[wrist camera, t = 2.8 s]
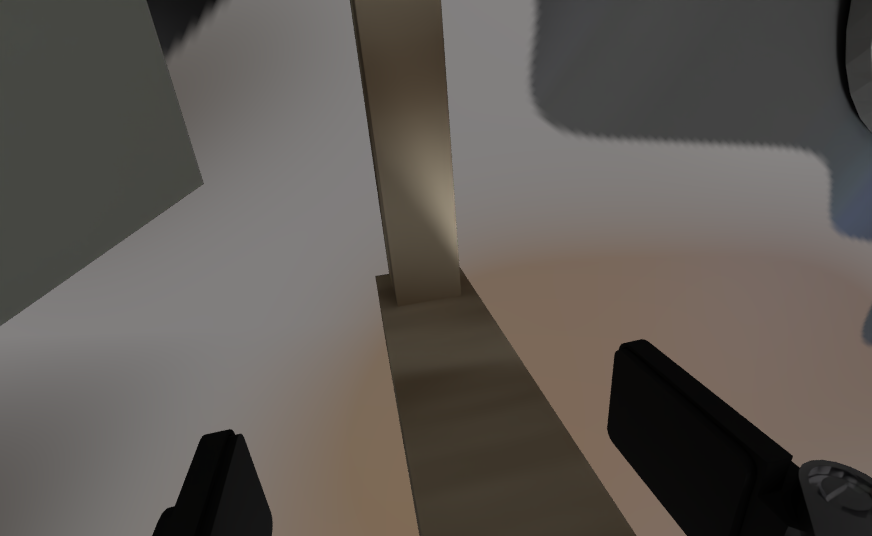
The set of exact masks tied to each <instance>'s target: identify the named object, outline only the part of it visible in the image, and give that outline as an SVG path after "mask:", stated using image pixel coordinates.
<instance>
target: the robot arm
mask: <svg viewBox="0 0 872 536" xmlns="http://www.w3.org/2000/svg"><path fill="white" fill-rule="evenodd" d="M845 65H846V71H847V77H848V84H849V90H850V95H851V97H852V100H853V102H854V104H855V107H856V109H857V112H858V114H859V117H860V119H861V120H862V121H863V123H864V124H865V125H866V126H867V128H868V129H869V130H870V131H871V133H872V0H851V4H850V10H849V16H848V22H847V28H846V58H845ZM607 430H608V434H609V437H610V439H611V441H612V442H613V444H614V445H615V446H616V447H617V449H618V450H619V451H620V452H621V454H622V455H623V456H624V457H625V459H626V460H627V461H628V462H629V464H630V465H631V466H632V467H633V469H634V470H635V471H636V472H637V474H638V475H639V476H640V477H641V479H642V480H643V481H644V482H645V484H646V485H647V486H648V487H649V489H650V490H651V491H652V492H653V494H654V495H655V496H656V497H657V499H658V500H659V501H660V502H661V504H662V505H663V506H664V507H665V509H666V510H667V511H668V513H669V514H670V515H671V516H672V518H673V519H674V520H675V521H676V523H677V524H678V525H679V526H680V527H681V529H682V530H683V531H684V533H685V534H686V535H687V536H872V478H871V477H869V476H868V475H866V474H864V473H862V472H860V471H858V470H856V469H854V468H852V467H849V466H846V465H843V464H840V463H837V462H831V461H826V460H813V461H809V462H806V463H804V464H802V466H801V467H800V468H799V467H798V466H797V465H796V464H794V463H793V462H792V461H791V460H792V457H793V456H792V455H791V454H790V453H788V452H787V451H786V450H785V449H783V448H782V447H781V446H780V445H778V444H777V443H776V442H775V441H773V440H772V439H771V438H769V437H768V436H767V435H766V434H764V433H763V432H762V431H761V430H759V429H758V428H757V427H756V426H754V425H753V424H752V423H750V422H749V421H748V420H747V419H746V418H744V417H743V416H742V415H740V414H739V413H738V412H737V411H735V410H734V409H733V408H732V407H730V406H729V405H728V404H727V403H725V402H724V401H723V400H721V399H720V398H719V397H718V396H716V395H715V394H714V393H713V392H711V391H710V390H709V389H708V388H706V387H705V386H704V385H703V384H701V383H700V382H699V381H697V380H696V379H695V378H693V377H692V376H691V375H690V374H689V373H687V372H686V371H685V370H684V369H682V368H681V367H680V366H679V365H677V364H676V363H675V362H673V361H672V360H671V359H670V358H668V357H667V356H666V355H665V354H663V353H662V352H661V351H659V350H658V349H657V348H656V347H654V346H653V345H652V344H651V343H649V342H648V341H646V340H642V339H641V340H637V341H632V342H627V343H623V344H621V346H620V347H619V350H618V351H616V352H615V356H614V365H613V375H612V385H611V395H610V405H609V416H608V426H607ZM152 536H272V515H271V511H270V509H269V506H268V503H267V500H266V498H265V495H264V492H263V489H262V486H261V483H260V481H259V478H258V475H257V472H256V470H255V467H254V464H253V461H252V458H251V456H250V453H249V450H248V447H247V444H246V442H245V439H244V437H243V435H242V434H237V435H235V433H234V431H233V430H230V429H229V430H225V431H220V432H215V433H211V434H206V435H204V436H202V438H201V440H200V442H199V444H198V447H197V450H196V452H195V455H194V457H193V460H192V463H191V465H190V468H189V471H188V473H187V476H186V478H185V481H184V484H183V486H182V489H181V491H180V494H179V497H178V499H177V502H176V505H175V506H174V507H170V508H167V509H166V510H165V511H164V512H163V513H162V515H161V517H160V519H159V520H158V523H157V525H156V528H155V530H154V533H153V535H152Z"/></svg>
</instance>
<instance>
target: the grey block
mask: <svg viewBox="0 0 872 536" xmlns="http://www.w3.org/2000/svg"><path fill="white" fill-rule="evenodd" d="M203 184H204V183H203V180H202V176H201V173H200V170H199V167H198V164H197V160H196V158H195V154H194V151H193V148H192V145H191V141H190V138H189V135H188V132H187V129H186V126H185V122H184V119H183V116H182V112H181V109H180V106H179V103H178V100H177V97H176V93H175V90H174V87H173V84H172V80H171V77H170V74H169V71H168V68H167V64H166V61H165V58H164V55H163V52H162V49H161V45H160V42H159V39H158V36H157V33H156V29H155V26H154V23H153V20H152V17H151V13H150V10H149V7H148V4H147V1H146V0H0V326H1V325H2V324H4V323H5V322H7V321H8V320H9V319H11V318H12V317H14V316H15V315H17V314H18V313H20V312H21V311H22V310H24V309H25V308H26V307H28V306H30V305H31V304H32V303H34V302H35V301H37V300H38V299H40V298H41V297H42V296H44V295H45V294H47V293H48V292H50V291H51V290H52V289H54V288H55V287H57V286H58V285H59V284H61V283H62V282H64V281H65V280H66V279H68V278H70V277H71V276H72V275H74V274H75V273H76V272H78V271H80V270H81V269H82V268H84V267H85V266H87V265H88V264H90V263H91V262H92V261H94V260H95V259H97V258H98V257H100V256H101V255H103V254H104V253H105V252H107V251H108V250H109V249H111V248H113V247H114V246H115V245H117V244H118V243H120V242H121V241H122V240H124V239H125V238H127V237H128V236H130V235H131V234H133V233H134V232H135V231H137V230H138V229H140V228H141V227H143V226H144V225H145V224H147V223H148V222H150V221H151V220H152V219H154V218H155V217H157V216H158V215H160V214H161V213H163V212H164V211H165V210H167V209H168V208H170V207H171V206H173V205H174V204H175V203H177V202H178V201H180V200H181V199H183V198H184V197H185V196H187V195H188V194H190V193H191V192H192V191H194V190H195V189H197V188H198V187H200V186H201V185H203Z"/></svg>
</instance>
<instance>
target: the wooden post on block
mask: <svg viewBox="0 0 872 536" xmlns="http://www.w3.org/2000/svg"><path fill="white" fill-rule="evenodd" d="M350 4H351V11H352V18H353V25H354V31H355V39H356V46H357V53H358V60H359V67H360V74H361V81H362V88H363V94H364V102H365V108H366V116H367V122H368V129H369V136H370V143H371V150H372V157H373V164H374V171H375V178H376V185H377V191H378V198H379V206H380V213H381V219H382V226H383V233H384V240H385V247H386V254H387V260H388V268H389V274H387V275H380V276H376V282H377V289H378V296H379V301H380V308H381V314H382V321H383V327H384V333H385V339H386V346H387V351H388V357H389V363H390V369H391V374H392V380H393V385H394V392H395V398H396V403H397V409H398V414H399V421H400V426H401V432H402V438H403V444H404V449H405V455H406V461H407V466H408V472H409V478H410V484H411V490H412V495H413V501H414V507H415V513H416V519H417V524H418V530H419V535H420V536H636V534H635V533H634V531H633V530H632V528H631V527H630V525H629V524H628V523H627V521H626V519H625V518H624V516H623V515H622V513H621V512H620V510H619V508H618V507H617V506H616V504H615V502H614V501H613V499H612V498H611V497H610V495H609V493H608V492H607V490H606V489H605V487H604V486H603V484H602V483H601V481H600V480H599V478H598V477H597V475H596V474H595V472H594V471H593V469H592V468H591V466H590V464H589V463H588V461H587V460H586V458H585V457H584V455H583V454H582V452H581V451H580V450H579V448H578V446H577V445H576V443H575V442H574V440H573V439H572V437H571V435H570V434H569V433H568V431H567V429H566V428H565V426H564V425H563V424H562V422H561V420H560V419H559V417H558V416H557V414H556V413H555V411H554V410H553V408H552V407H551V405H550V404H549V402H548V401H547V399H546V398H545V396H544V395H543V393H542V391H541V390H540V389H539V387H538V386H537V384H536V382H535V381H534V379H533V378H532V376H531V375H530V373H529V372H528V370H527V369H526V367H525V366H524V364H523V363H522V361H521V360H520V358H519V357H518V355H517V353H516V352H515V350H514V349H513V347H512V346H511V344H510V343H509V341H508V340H507V338H506V337H505V335H504V334H503V332H502V331H501V329H500V328H499V326H498V325H497V323H496V321H495V320H494V319H493V317H492V315H491V314H490V312H489V311H488V310H487V308H486V306H485V305H484V303H483V302H482V300H481V299H480V297H479V296H478V294H477V293H476V291H475V290H474V288H473V287H472V285H471V283H470V282H469V281H468V279H467V277H466V276H465V274H464V273H463V271H462V270H461V268H460V267H459V256H458V241H457V227H456V213H455V200H454V199H455V198H454V183H453V169H452V154H451V140H450V126H449V110H448V96H447V82H446V67H445V52H444V38H443V24H442V9H441V0H350Z"/></svg>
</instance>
